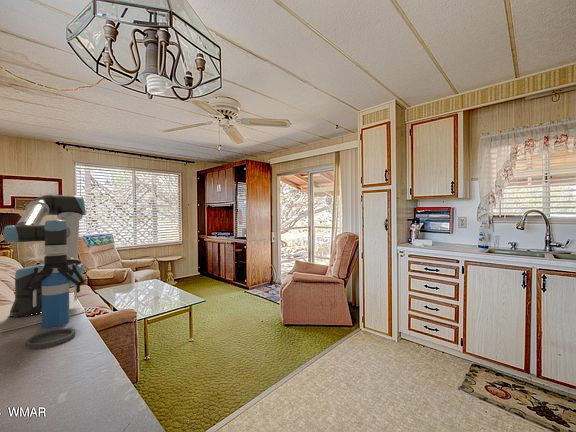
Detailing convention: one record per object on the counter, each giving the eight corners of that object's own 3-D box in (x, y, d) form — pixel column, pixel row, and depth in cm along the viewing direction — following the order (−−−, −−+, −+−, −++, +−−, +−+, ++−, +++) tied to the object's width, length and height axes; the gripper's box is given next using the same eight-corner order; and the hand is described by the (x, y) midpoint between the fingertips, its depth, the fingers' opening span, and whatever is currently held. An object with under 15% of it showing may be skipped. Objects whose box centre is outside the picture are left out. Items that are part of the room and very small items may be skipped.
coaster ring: (29, 338, 102) (29, 334, 102) (76, 329, 111) (76, 325, 111) (21, 352, 91) (21, 348, 91) (73, 341, 99) (73, 337, 99)
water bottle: (44, 330, 110) (44, 270, 111) (39, 325, 116) (39, 268, 116) (72, 323, 118) (72, 267, 118) (66, 319, 123) (66, 265, 124)
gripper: (13, 258, 107) (13, 311, 106) (90, 253, 122) (91, 299, 121) (18, 256, 113) (17, 306, 112) (91, 251, 128) (91, 296, 127)
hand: (55, 303), depth 117 cm, fingers open, 13 cm apart
